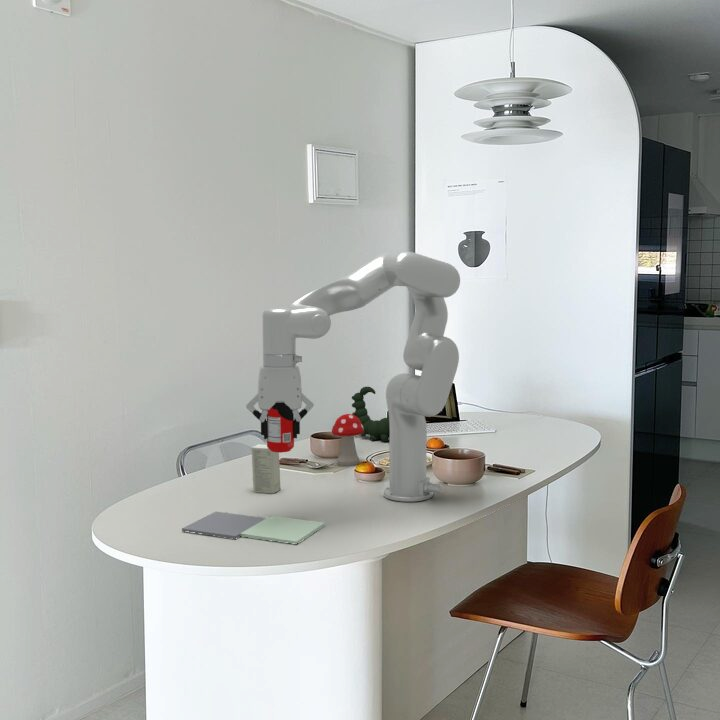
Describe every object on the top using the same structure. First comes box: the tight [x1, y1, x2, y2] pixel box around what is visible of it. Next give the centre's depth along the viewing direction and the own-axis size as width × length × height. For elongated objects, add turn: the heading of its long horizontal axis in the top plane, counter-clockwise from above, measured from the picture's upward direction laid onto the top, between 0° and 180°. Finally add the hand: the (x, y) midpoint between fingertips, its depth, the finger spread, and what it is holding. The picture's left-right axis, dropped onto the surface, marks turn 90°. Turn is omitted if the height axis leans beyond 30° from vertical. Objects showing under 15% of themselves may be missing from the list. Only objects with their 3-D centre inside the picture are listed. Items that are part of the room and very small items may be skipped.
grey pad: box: [181, 511, 267, 540], centre depth 201 cm, size 14×14×1 cm
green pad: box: [240, 515, 326, 544], centre depth 197 cm, size 14×14×1 cm
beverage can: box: [266, 401, 295, 454], centre depth 204 cm, size 6×6×12 cm
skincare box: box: [251, 443, 281, 494], centre depth 230 cm, size 6×4×12 cm
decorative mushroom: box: [331, 413, 364, 467], centre depth 258 cm, size 10×9×15 cm
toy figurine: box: [351, 386, 390, 442], centre depth 289 cm, size 9×19×25 cm
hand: (280, 436), depth 204 cm, fingers closed on beverage can, 6 cm apart
